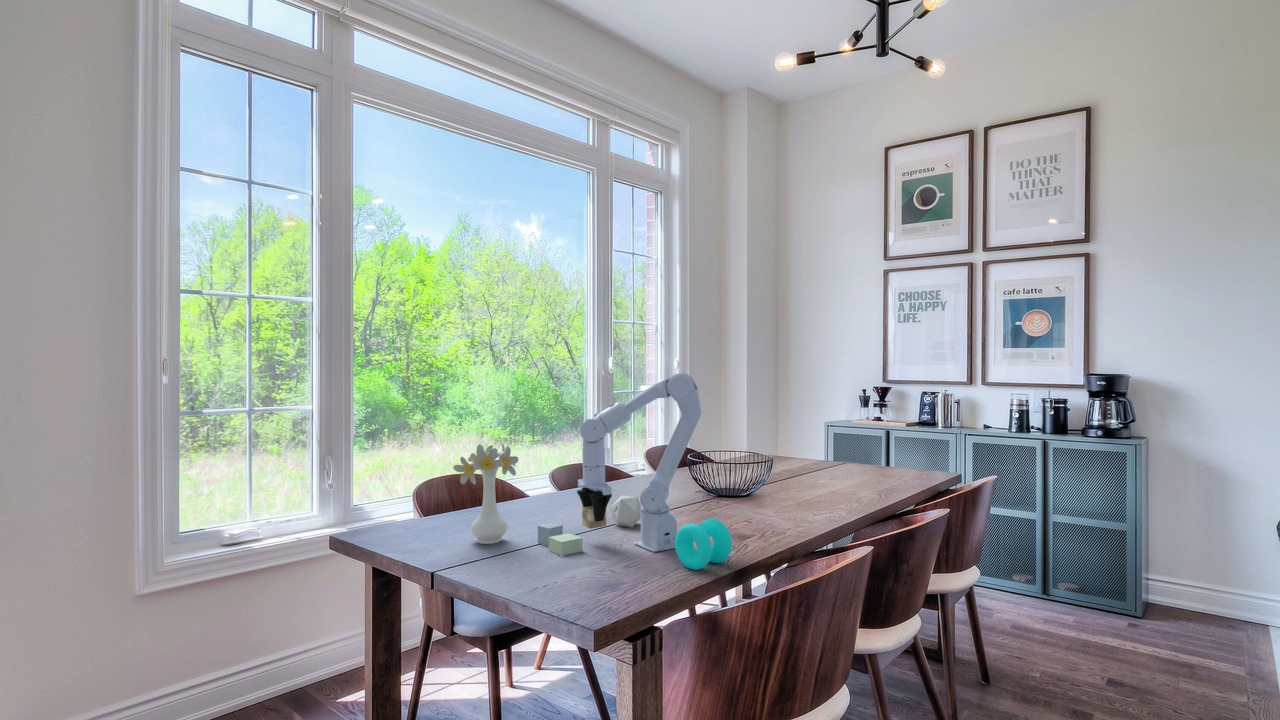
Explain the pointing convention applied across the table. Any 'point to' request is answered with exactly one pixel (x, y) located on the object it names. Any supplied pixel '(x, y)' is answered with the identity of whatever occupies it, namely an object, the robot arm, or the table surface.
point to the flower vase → (488, 490)
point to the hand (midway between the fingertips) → (594, 519)
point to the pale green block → (565, 544)
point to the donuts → (703, 543)
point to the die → (626, 511)
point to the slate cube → (548, 532)
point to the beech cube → (591, 518)
